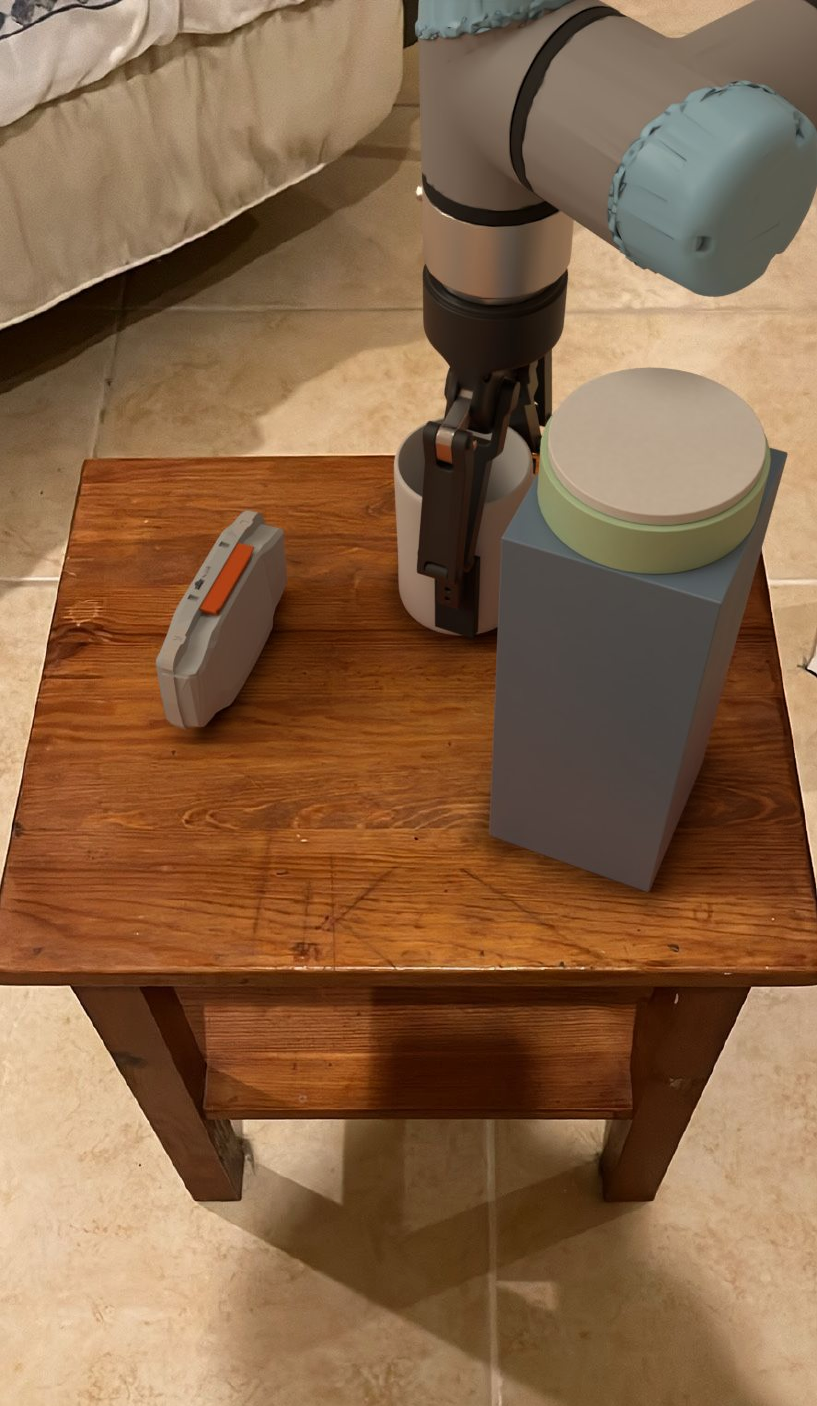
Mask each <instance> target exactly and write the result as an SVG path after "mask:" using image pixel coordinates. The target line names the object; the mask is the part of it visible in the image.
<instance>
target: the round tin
mask: <svg viewBox="0 0 817 1406" xmlns="http://www.w3.org/2000/svg"><path fill="white" fill-rule="evenodd" d="M543 428H544V429H543V431H542V434H541V435H542V438H541V447H540V455H539V463H538V473H539V475H538V474H537V475H538V489H537V494H538V503H539V506H540V509H541V513H542V515H543V517H544V519H545V521H546V523H547V524H548V526H549V527H550V528H551V530H552V531H553V533H554V534H555V535H556V536H557V537H558V538H559V539H560V540H561V541H562V542H563V543H564V544H566V545H567V546H568V547H569V548H571V549H572V550H573V551H575V552H577V553H578V554H580V555H582V556H583V557H585V558H587V559H589V560H591V561H593V562H596V563H598V564H601V565H604V566H607V567H609V568H613V569H617V570H621V571H626V572H633V573H639V574H670V573H677V572H684V571H688V570H692V569H696V568H699V567H702V566H705V565H707V564H710V563H712V562H714V561H716V560H718V559H720V558H722V557H724V556H725V555H727V554H728V553H729V552H731V551H732V550H734V549H735V548H736V547H737V546H738V545H739V544H740V543H741V542H742V541H743V540H744V539H745V538H746V536H747V535H748V534H749V533H750V531H751V529H752V527H753V525H754V523H755V521H756V518H757V515H758V512H759V508H760V504H761V500H762V496H763V493H764V489H765V485H766V481H767V478H768V474H769V469H770V462H771V458H770V448H771V447H770V445H769V440H768V438H767V435H766V433H765V430H764V427H763V425H762V423H761V421H760V419H759V417H758V416H757V414H756V412H755V411H754V410H753V408H752V407H751V406H750V405H749V404H748V403H747V402H746V401H745V400H744V399H743V398H742V397H741V396H739V395H738V394H737V393H736V392H734V391H733V390H732V389H730V388H728V387H727V386H725V385H723V384H721V383H719V382H717V381H715V380H713V379H711V378H709V377H706V376H703V375H700V374H697V373H693V372H690V371H685V370H680V369H676V368H675V369H674V368H668V367H635V368H628V369H621V370H617V371H613V372H609V373H605V374H603V375H600V376H598V377H595V378H593V379H590V380H589V381H586V382H585V383H583V384H581V385H580V386H579V387H577V388H575V389H574V390H573V391H572V392H571V393H569V394H568V395H567V396H566V397H565V398H564V399H563V400H562V402H560V404H559V406H557V408H556V409H555V410H554V411H553V412H552V416H551V417H550V419H549V420H548V422H547V424H546V426H545V427H543Z"/></svg>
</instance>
